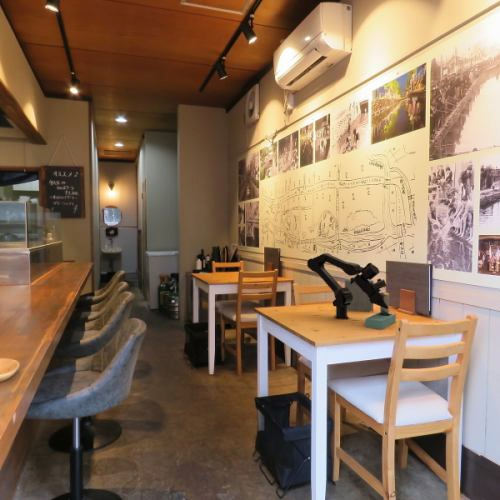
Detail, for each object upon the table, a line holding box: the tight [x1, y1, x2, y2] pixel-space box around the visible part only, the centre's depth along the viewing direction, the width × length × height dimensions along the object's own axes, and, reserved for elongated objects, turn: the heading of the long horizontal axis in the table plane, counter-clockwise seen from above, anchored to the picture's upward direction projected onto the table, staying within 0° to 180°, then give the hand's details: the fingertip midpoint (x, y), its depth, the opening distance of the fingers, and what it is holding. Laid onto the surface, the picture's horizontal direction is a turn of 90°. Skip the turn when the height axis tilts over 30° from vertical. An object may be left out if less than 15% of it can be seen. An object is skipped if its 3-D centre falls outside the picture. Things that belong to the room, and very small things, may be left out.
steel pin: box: [379, 291, 390, 316], centre depth 204 cm, size 4×4×14 cm
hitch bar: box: [364, 311, 397, 330], centre depth 200 cm, size 20×8×4 cm, turn 143°
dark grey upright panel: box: [344, 279, 375, 312], centre depth 234 cm, size 16×4×20 cm, turn 77°
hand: (387, 307), depth 203 cm, fingers closed on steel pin, 4 cm apart
